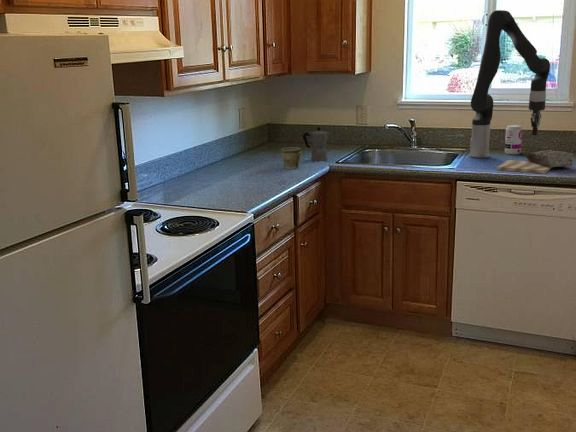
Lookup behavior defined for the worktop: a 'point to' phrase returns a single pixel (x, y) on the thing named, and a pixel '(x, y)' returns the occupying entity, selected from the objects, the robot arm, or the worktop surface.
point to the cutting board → (523, 167)
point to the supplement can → (513, 139)
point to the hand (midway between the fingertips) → (534, 135)
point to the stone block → (550, 158)
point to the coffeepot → (317, 144)
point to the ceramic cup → (291, 157)
